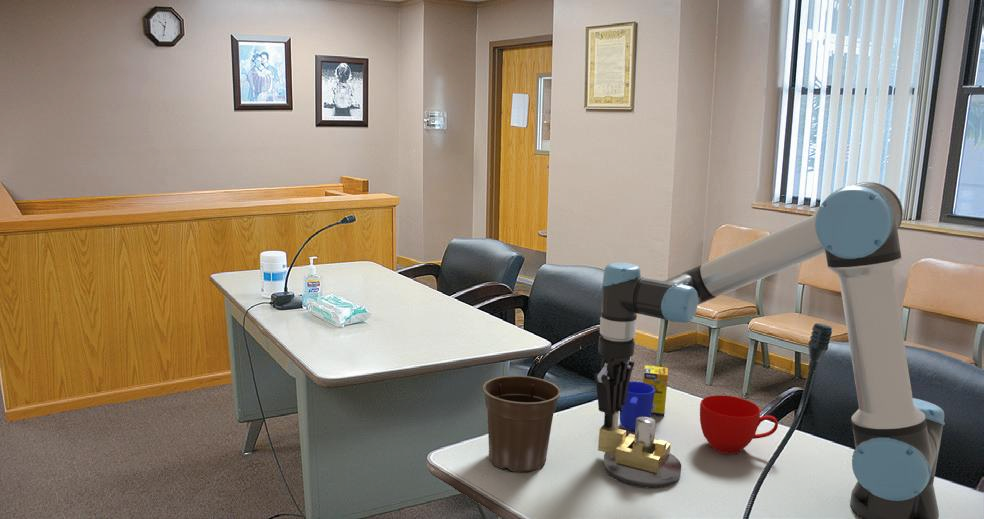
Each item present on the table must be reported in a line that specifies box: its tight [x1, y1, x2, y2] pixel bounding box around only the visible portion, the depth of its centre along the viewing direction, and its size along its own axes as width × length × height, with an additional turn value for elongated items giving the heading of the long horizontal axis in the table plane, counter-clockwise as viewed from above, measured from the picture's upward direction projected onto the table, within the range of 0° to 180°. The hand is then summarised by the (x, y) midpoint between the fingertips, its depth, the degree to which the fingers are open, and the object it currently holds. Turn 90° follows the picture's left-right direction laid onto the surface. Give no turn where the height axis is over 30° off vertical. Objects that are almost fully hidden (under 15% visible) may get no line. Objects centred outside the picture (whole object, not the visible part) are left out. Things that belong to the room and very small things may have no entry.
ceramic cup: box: [699, 394, 779, 455], centre depth 175 cm, size 13×17×10 cm
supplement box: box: [642, 365, 669, 417], centre depth 195 cm, size 6×6×11 cm
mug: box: [619, 380, 655, 432], centre depth 183 cm, size 8×12×10 cm
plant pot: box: [482, 375, 562, 473], centre depth 165 cm, size 16×16×16 cm
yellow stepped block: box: [597, 423, 672, 473], centre depth 164 cm, size 14×9×5 cm, turn 62°
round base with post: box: [602, 417, 682, 489], centre depth 163 cm, size 16×16×11 cm
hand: (609, 439), depth 170 cm, fingers closed
